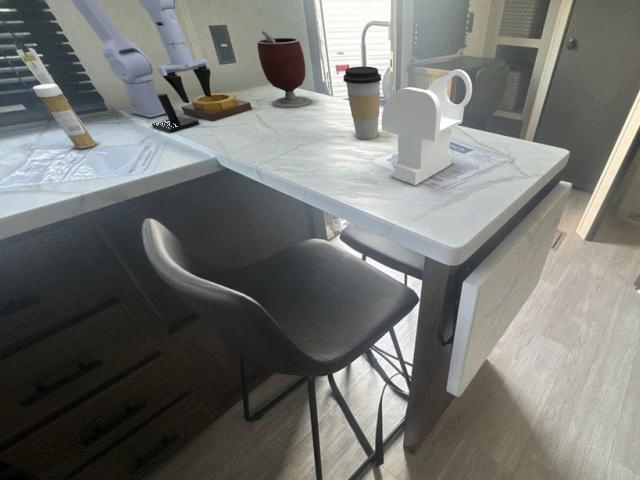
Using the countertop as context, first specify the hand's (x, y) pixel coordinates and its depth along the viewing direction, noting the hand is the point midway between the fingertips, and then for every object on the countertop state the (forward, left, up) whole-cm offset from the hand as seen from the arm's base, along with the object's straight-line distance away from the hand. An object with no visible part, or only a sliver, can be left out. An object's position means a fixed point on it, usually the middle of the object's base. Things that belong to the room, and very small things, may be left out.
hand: (197, 99), depth 97 cm
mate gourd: (+14, +24, -5) cm, 28 cm away
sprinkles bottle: (-3, -33, -5) cm, 33 cm away
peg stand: (+2, -11, -5) cm, 12 cm away
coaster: (0, +5, -5) cm, 7 cm away
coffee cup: (+56, +11, -5) cm, 57 cm away
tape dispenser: (+81, -1, -5) cm, 81 cm away
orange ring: (0, +5, -3) cm, 6 cm away
